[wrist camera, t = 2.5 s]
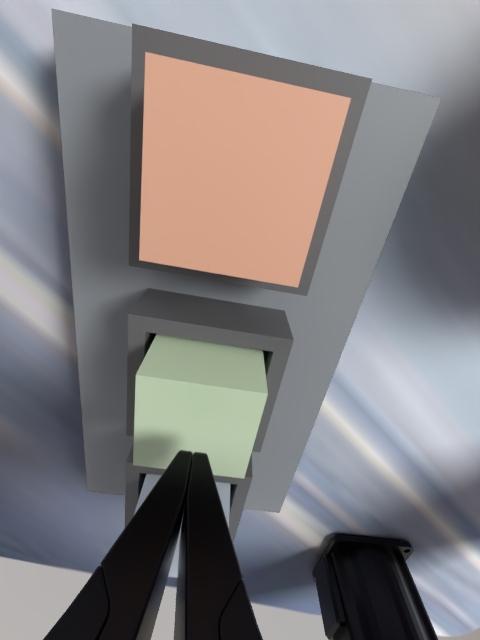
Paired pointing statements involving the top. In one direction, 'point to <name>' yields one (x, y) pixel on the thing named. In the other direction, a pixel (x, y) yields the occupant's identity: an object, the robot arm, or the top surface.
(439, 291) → the top surface
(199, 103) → the terracotta button
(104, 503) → the top surface
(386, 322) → the top surface
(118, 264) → the button panel
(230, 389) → the sage button
